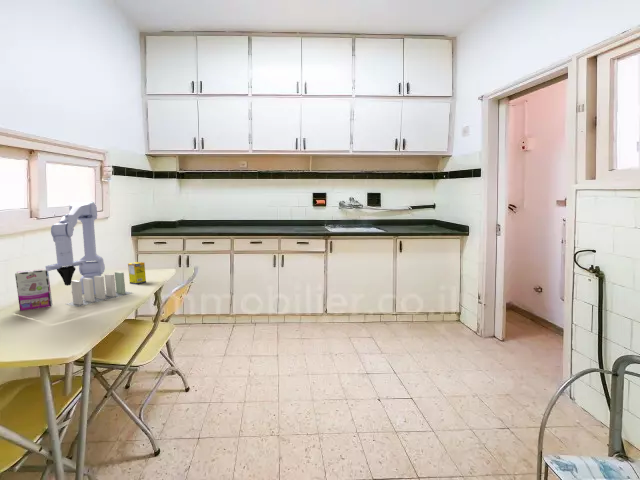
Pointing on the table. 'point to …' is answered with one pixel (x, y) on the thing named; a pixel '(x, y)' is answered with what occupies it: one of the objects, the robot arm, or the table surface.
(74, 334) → the table surface
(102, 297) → the ivory domino
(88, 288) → the ivory domino
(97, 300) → the slate board
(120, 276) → the sage domino
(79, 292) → the ivory domino
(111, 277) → the ivory domino
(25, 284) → the candy bar box
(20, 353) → the table surface
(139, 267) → the supplement box
